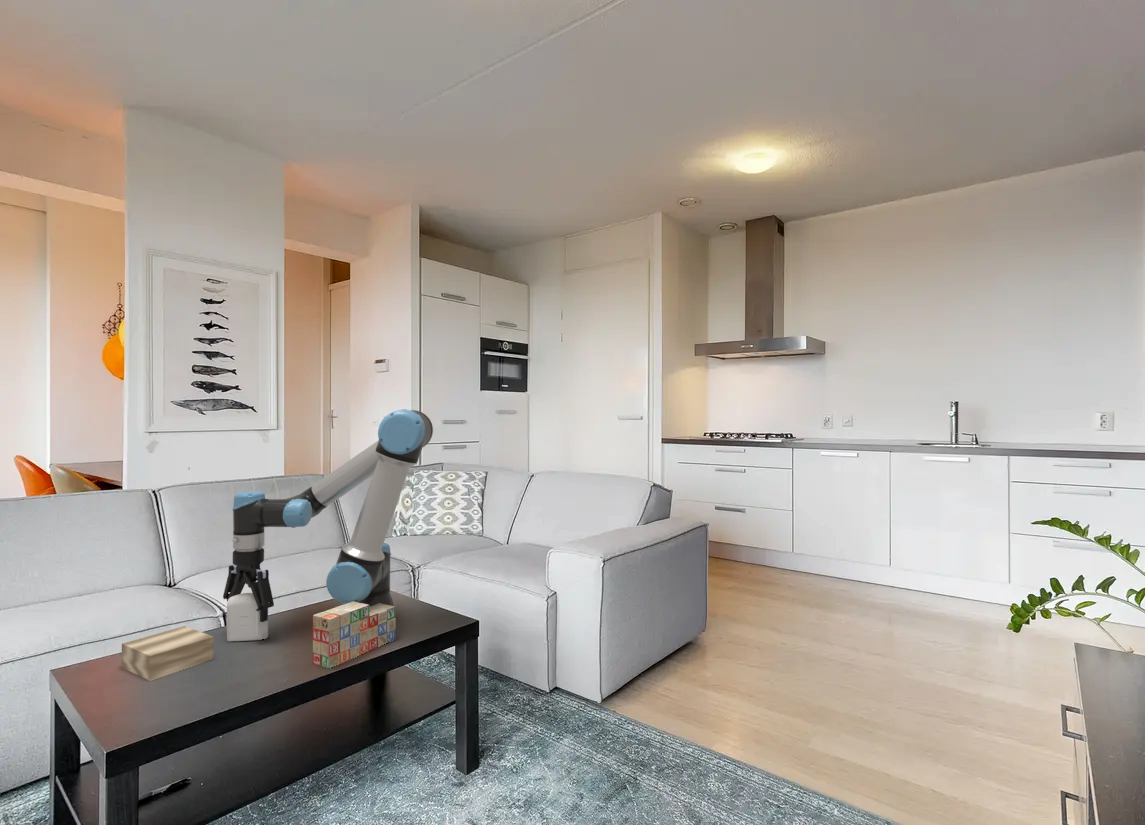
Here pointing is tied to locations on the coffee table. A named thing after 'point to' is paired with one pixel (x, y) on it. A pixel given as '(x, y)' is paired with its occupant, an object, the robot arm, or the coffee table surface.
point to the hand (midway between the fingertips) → (247, 629)
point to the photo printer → (242, 618)
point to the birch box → (167, 652)
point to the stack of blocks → (351, 632)
